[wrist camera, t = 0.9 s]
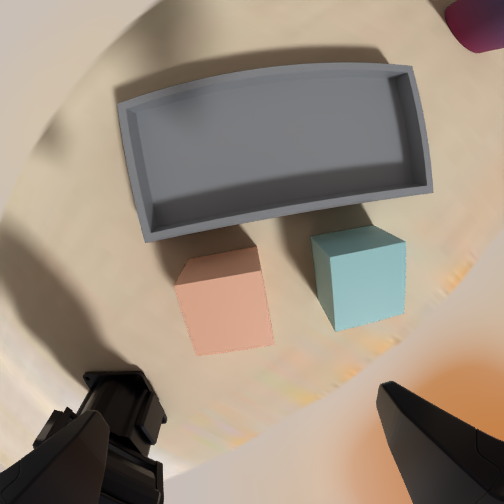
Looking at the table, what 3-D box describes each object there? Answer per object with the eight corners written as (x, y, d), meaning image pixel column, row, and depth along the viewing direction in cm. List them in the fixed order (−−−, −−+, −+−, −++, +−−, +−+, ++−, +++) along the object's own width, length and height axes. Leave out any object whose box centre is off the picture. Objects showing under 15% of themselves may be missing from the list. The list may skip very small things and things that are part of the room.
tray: (155, 234, 18) (145, 243, 16) (130, 110, 16) (117, 103, 13) (415, 189, 18) (433, 192, 15) (396, 73, 15) (411, 66, 13)
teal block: (317, 297, 20) (335, 331, 15) (310, 236, 18) (329, 257, 14) (375, 284, 20) (404, 313, 15) (372, 224, 18) (405, 241, 14)
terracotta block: (205, 318, 20) (196, 355, 16) (188, 258, 19) (173, 285, 14) (268, 307, 20) (274, 344, 16) (256, 245, 19) (260, 270, 14)
